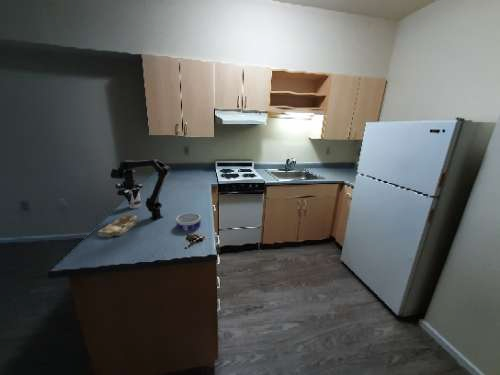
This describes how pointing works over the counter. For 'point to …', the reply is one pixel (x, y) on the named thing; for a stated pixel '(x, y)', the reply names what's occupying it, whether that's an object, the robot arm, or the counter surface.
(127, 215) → the walnut block
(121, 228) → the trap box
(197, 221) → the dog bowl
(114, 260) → the counter surface
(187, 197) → the counter surface
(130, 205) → the supplement can
